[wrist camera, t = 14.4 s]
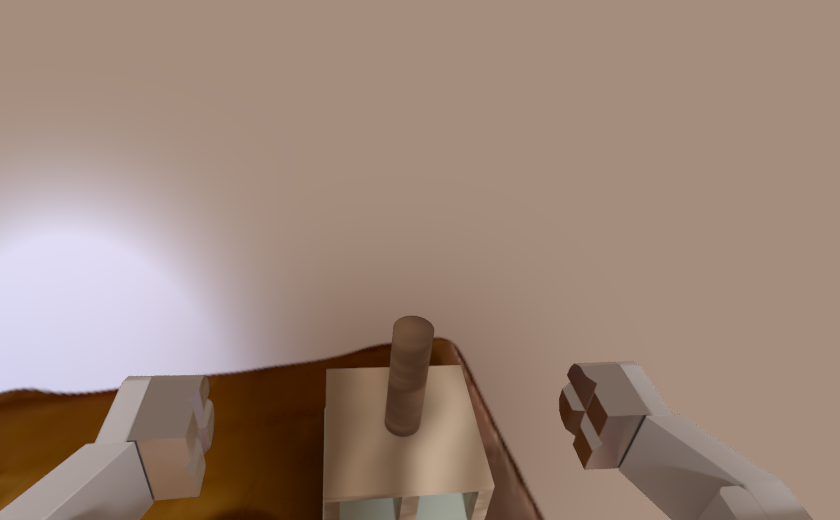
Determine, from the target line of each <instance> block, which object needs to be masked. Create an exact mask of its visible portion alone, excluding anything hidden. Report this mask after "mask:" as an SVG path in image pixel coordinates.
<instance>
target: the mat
mask: <svg viewBox="0 0 840 520" xmlns="http://www.w3.org/2000/svg"><path fill="white" fill-rule="evenodd" d="M325 422H326V408H325V412H324V472H323V520H324V481H325ZM471 494H472V492H465V493H452V494H438V495H424V496H420V497H419V503H418V509H417V515H416V520H467V517H466V513H467V509H468V505H469V502H470V498H471ZM398 500H399V497H396V498H382V499H368V500H354V501H340V517H339V520H396V515H397V508H398Z"/></svg>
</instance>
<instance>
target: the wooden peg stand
mask: <svg viewBox="0 0 840 520" xmlns="http://www.w3.org/2000/svg"><path fill="white" fill-rule="evenodd" d="M433 336H434V327H433V325H432V324H431V323H430V322H429V321H428V320H426V319H424V318H422V317H418V316H406V317H402V318H400V319H399V320H397V321H396V322H395V324H394V327H393V338H392V348H391V359H390V367H381V368H345V369H326V422H325V481H324V520H339V517H340V501H354V500H368V499H382V498H396V497H399V500H398V508H397V515H396V520H416V515H417V509H418V503H419V497H420V496H424V495H438V494H452V493H465V492H472V494H471V498H470V502H469V505H468V509H467V513H466V517H467V520H484V519H485V516H486V513H487V509H488V506H489V503H490V499H491V496H492V493H493V490H494V482H493V479H492V475H491V472H490V468H489V465H488V461H487V458H486V454H485V450H484V447H483V443H482V440H481V436H480V433H479V429H478V426H477V422H476V418H475V415H474V411H473V408H472V404H471V401H470V397H469V394H468V390H467V386H466V383H465V379H464V376H463V372H462V369H461V365H451V366H429V362H430V356H431V349H432V343H433Z"/></svg>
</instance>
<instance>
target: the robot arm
mask: <svg viewBox="0 0 840 520" xmlns="http://www.w3.org/2000/svg"><path fill="white" fill-rule="evenodd" d="M567 376H568V378H569V380H570V383H569V384H568V385H566V386H565V387H564V388H563V389H562V391H561V395H560V398H559V411H560V415H561V419H562V421H563V424H564V426H565V428H566V429H567V430H568V431H569V432H571V433H572V434H573V435H575V439H574V443H573V446H574V448H575V450H576V452H577V455H578V457H579V459H580V461H581V463H582V465H583V468H584V469H585V470H589V469H612V468H613V469H614V468H619V471H620V472H621V473H622V474H623V475H625V477H626V478H628V479H629V480H630V481H631V482H632V483H633V484H634V485H635V486H636V487H637V488H638V489H639V490H640V491H641V492H643V493H644V494H645V495H646V496H647V497H648V498H649V499H650V500H651V501H652V502H653V503H654V504H655V505H656V506H658V508H660V509H661V510H662V511H663V512H664V513H665V514H666V515H667V516H668V517H669V518H670V519H671V520H813V519H812V518H811V517H810V515H809V514H808V513H807V511H806V510H805V509H804V508H803V506H802V505H801V504H800V503H799V501H798V500H797V499H796V498H795V496H794V495H793V494H792V493H791V491H790V490H789V489H788V487H787V486H786V485H785V484H784V482H783V481H781V480H780V479H779V478H777V477H775V476H774V475H772V474H771V473H769V472H767V471H766V470H765V469H763V468H762V467H760V466H759V465H757V464H755V463H754V462H752V461H751V460H749V459H748V458H746V457H745V456H743V455H742V454H740V453H738V452H737V451H735V450H734V449H732V448H731V447H729V446H728V445H726V444H725V443H723V442H721V441H720V440H718V439H717V438H715V437H714V436H712V435H711V434H709V433H708V432H706V431H704V430H703V429H701V428H700V427H698V426H697V425H695V424H693V423H692V422H691V421H689V420H687V419H686V418H684V417H683V416H681V415H680V414H673V413H672V412H671V410H670V409H669V407H668V406H667V404H666V403H665V402H664V400H663V399H662V397H661V396H660V394H659V393H658V391H657V390H656V388H655V387H654V386H653V384H652V383H651V381H650V380H649V378H648V377H647V375H646V374H645V373H644V371H643V370H642V368H641V367H640V365H639V364H637V363H636V362H634V361H627V362H601V363H578V364H573V365H572V366H571V367H570V369H569V372H568V374H567ZM209 389H210V386H209V381H208V377H207V376H205V375H182V376H128V377H127V378H126V379H125V380H124V381H123V382H122V384H121V386H120V389H119V391H118V393H117V395H116V397H115V399H114V402H113V404H112V406H111V408H110V410H109V413H108V415H107V417H106V419H105V421H104V424H103V426H102V428H101V430H100V432H99V434H98V437H97V439H96V441H95V443H94V444H86V445H84V446H83V447H82V448H80V449H79V450H78V451H77V452H75V453H74V454H73V455H72V456H70V457H69V458H68V459H66V460H65V461H64V462H63V463H61V464H60V465H59V466H57V467H56V468H55V469H54V470H52V471H51V472H50V473H49V474H47V475H46V476H45V477H43V478H42V479H41V480H40V481H38V482H37V483H36V484H34V485H33V486H32V487H31V488H29V489H28V490H27V491H26V492H24V493H23V494H22V495H20V496H19V497H18V498H17V499H15V500H14V501H13V502H11V503H10V504H9V505H8V506H6V507H5V508H4V509H2V510H1V511H0V520H139V519H140V518H141V517H142V516H143V515H144V513H145V512H146V511H147V510H148V509H149V508H150V507H151V505H152V504H153V500H163V499H174V498H184V497H195V496H199V493H200V489H201V485H202V481H203V476H204V472H205V468H206V465H205V459H204V453H205V452H206V451H207V450H208V449H209V448H210V446H211V442H212V437H213V429H214V408H213V402H211V401H210V400H209V399H207V397H208V393H209Z"/></svg>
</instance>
